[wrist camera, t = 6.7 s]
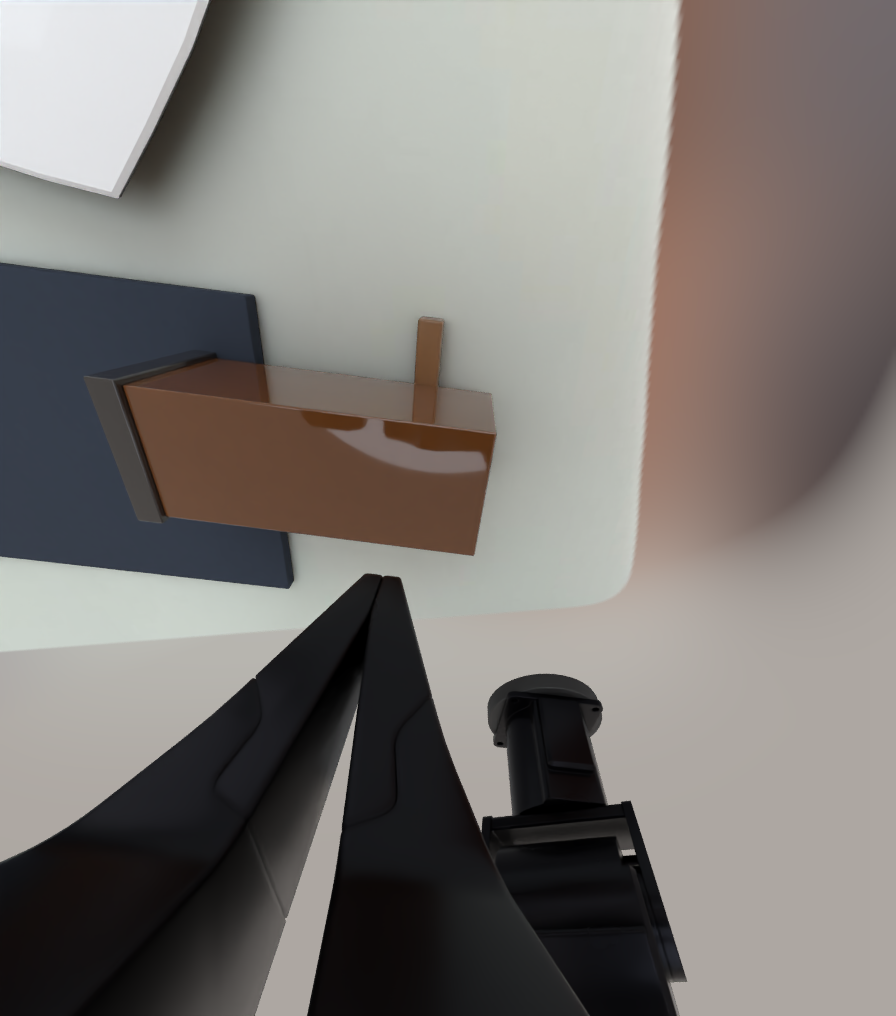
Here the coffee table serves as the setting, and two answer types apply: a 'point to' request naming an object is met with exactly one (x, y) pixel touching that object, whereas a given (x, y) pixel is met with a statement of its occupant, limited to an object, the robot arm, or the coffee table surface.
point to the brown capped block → (299, 450)
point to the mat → (79, 434)
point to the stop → (428, 351)
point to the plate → (89, 84)
